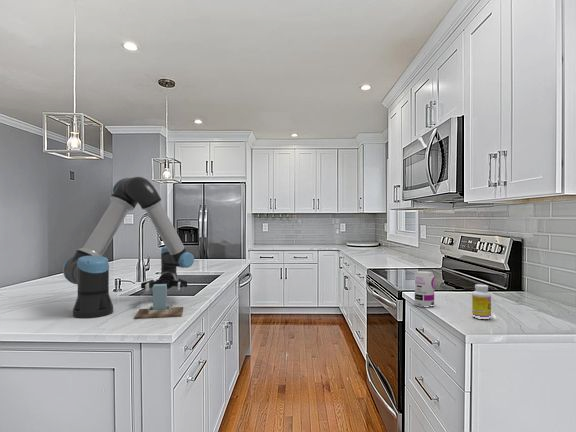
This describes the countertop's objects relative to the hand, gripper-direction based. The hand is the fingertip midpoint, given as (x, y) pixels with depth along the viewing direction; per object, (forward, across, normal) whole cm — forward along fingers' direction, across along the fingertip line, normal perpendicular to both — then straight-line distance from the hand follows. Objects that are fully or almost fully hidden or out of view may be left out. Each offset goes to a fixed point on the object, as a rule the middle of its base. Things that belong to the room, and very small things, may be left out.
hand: (162, 287), depth 177 cm
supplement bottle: (+44, -124, -9) cm, 132 cm away
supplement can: (+20, -114, -9) cm, 116 cm away
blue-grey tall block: (+10, 0, -8) cm, 13 cm away
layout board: (+10, 0, -9) cm, 13 cm away
